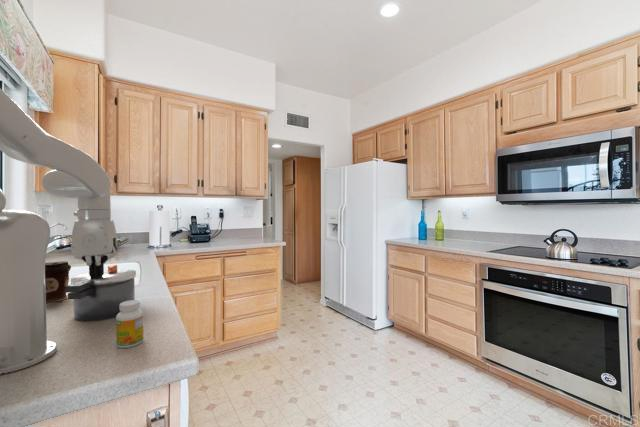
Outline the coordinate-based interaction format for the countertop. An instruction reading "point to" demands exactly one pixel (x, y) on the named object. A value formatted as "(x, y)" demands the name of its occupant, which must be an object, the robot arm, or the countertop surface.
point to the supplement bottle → (129, 324)
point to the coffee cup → (56, 280)
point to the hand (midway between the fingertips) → (96, 278)
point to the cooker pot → (101, 300)
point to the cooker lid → (100, 279)
